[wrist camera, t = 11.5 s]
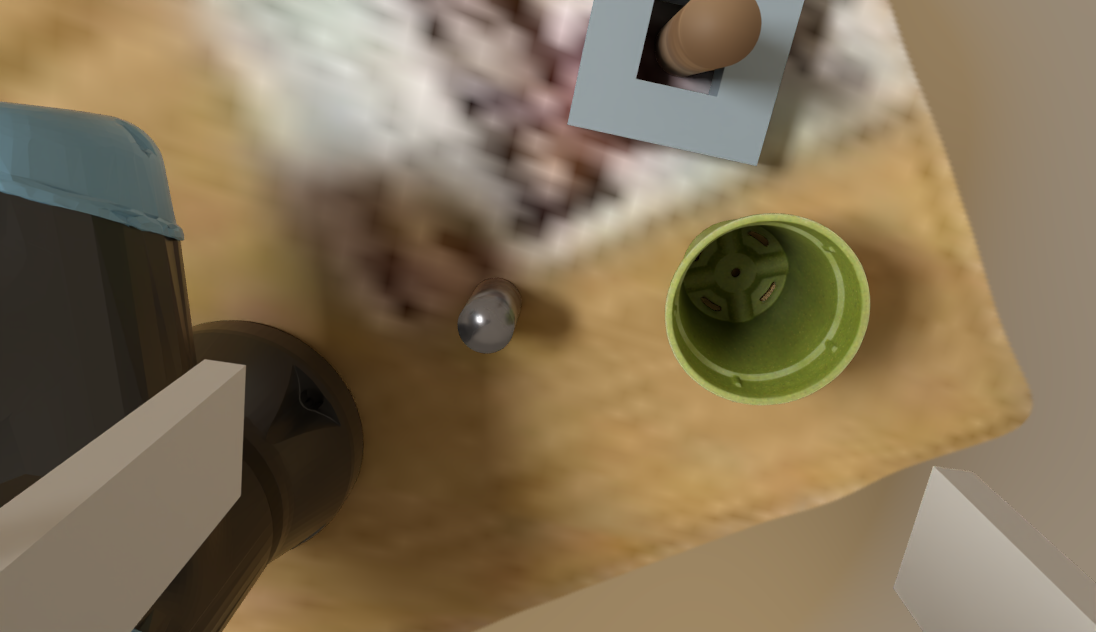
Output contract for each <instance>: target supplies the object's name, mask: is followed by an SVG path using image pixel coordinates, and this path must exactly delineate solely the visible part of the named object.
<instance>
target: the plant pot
mask: <svg viewBox="0 0 1096 632" xmlns="http://www.w3.org/2000/svg"><path fill="white" fill-rule="evenodd" d="M751 231H753V232H756V233H759V234H761V235H762V236H764V237H765V238H766V239H767V240H768V243H769V244H768V245H767V246H764V245H763V244H762V243H761V242H760V241H758V240H757V239H755V238H754V237H752V236H751V235H748V232H751ZM703 249H704V251H703ZM702 251H703V252H702ZM701 252H702V254H701V255H700V257H699V259H698V261H694V260H695V258H696V257H697V256H698V255H699V254H700V253H701ZM735 268H738V269H739V270H740V274H739V276H737V277H733V276H732V274H731V272H732V271H733V269H735ZM772 282H775V285H776V287H775V289H774V291H773V292H772V294H771V295H770V297H769V298H768V299H767V300H765V301H760V298H761V297H762V296H763V295H764V293H766V292H767V290H768V289H769V288H770V286H771V284H772ZM704 296H705V297H706V298H707V299H709V300H710V301H711V302H712V303H714V304H716V305H719V306H720V307H721V308H722V310H721V311H714V310H712V309H711V308H709V307H708V306H706V305H705V304H704V303H703V302H702V299H701V298H702V297H704ZM869 315H870V293H869V286H868V282H867V278H866V274H865V272H864V269H863V267H862V264H861V263H860V261H859V259H858V258H857V256H856V254H855V253H854V252H853V250H852V249H851V248H850V247H849V246H848V245H847V243H846V242H845V241H844V240H842V239H841V238H840V237H839V236H838V235H837V234H836V233H834V232H833V231H831V230H830V229H828V228H827V227H825V226H823V225H821V224H819V223H817V222H815V221H812V220H810V219H806V218H803V217H799V216H795V215H789V214H778V213H767V214H757V215H751V216H747V217H743V218H739V219H736V220H728V221H723V222H720V223H717V224H714V225H712V226H710V227H709V228H707V229H705V230H704V231H703V232H702V233H700V234H699V235H698V236H697V237H696V238H695V239H694V240H693V241H692V243H691V244H690V246H689V248H688V249H687V251H686V253H685V256H684V259H683V260H682V262H681V264H680V265H679V267H678V269H677V270H676V272H675V274H674V276H673V279H672V281H671V284H670V287H669V290H668V294H667V299H666V306H665V324H666V331H667V336H668V340H669V343H670V346H671V349H672V351H673V353H674V355H675V357H676V359H677V360H678V362H679V364H680V365H681V367H682V368H683V369H684V371H685V372H686V373H687V374H688V375H689V376H690V377H691V378H692V379H693V380H694V381H695V382H697V383H698V384H699V385H700V386H702V387H703V388H705V389H706V390H708V391H710V392H712V393H714V394H715V395H717V396H720V397H722V398H725V399H728V400H730V401H733V402H738V403H743V404H750V405H773V404H782V403H788V402H791V401H795V400H798V399H801V398H803V397H806V396H808V395H810V394H812V393H814V392H816V391H818V390H819V389H821V388H823V387H824V386H826V385H827V384H828V383H830V382H831V381H833V380H834V379H835V378H836V377H837V376H838V375H839V374H840V373H841V372H842V371H843V370H844V369H845V368H846V366H847V365H848V364H849V363H850V362H851V360H852V359H853V357H854V356H855V354H856V353H857V351H858V349H859V347H860V345H861V343H862V341H863V338H864V336H865V333H866V329H867V326H868V321H869Z"/></svg>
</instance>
